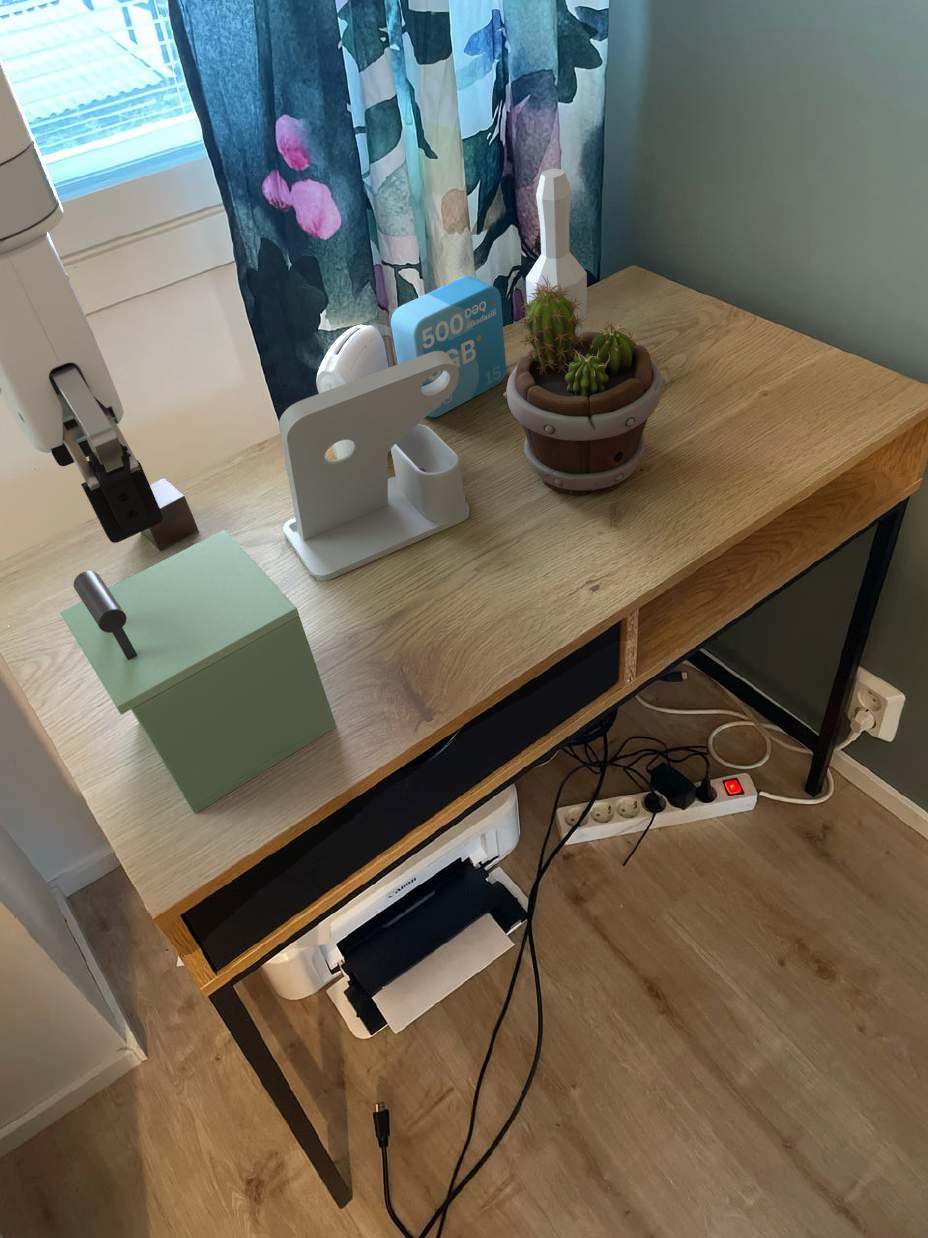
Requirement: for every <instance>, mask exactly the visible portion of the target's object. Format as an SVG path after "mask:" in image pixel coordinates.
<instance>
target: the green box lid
mask: <svg viewBox="0 0 928 1238" xmlns="http://www.w3.org/2000/svg"><path fill="white" fill-rule="evenodd" d="M73 589H74V590H75V592H76V593H77V595H78V597H79V598H80V600H81V601H79V602H77V603H76V604H75V603H74V604H73V605H71V606H69V607H67V608H65V609H64V610H61V611H60V612H59V614H60V615H61V617H62V619H63V621H64V623H65V624H66V626H67V628H68V629H69V630H70V632H71V634H72V635H73V637H74V639H75V641H76V643H77V644H78V646H79V647H80V649H81V651H82V653H83V654H84V656H85V657H86V659H87V661H88V662H89V664H90V665H91V667H92V669H93V671H94V672H95V674H96V676H97V677H98V680H99V681H100V682H101V684H102V686H103V688H104V689H105V691H106V693H107V695H108V696H109V698H110V699H111V701H112V703H113V705H114V706H115V707H116V710H117V711H118V712H119V714H120V715H123V714H125V713H127V712H128V711H129V712H130V711H132V710H131V709H132V708H134V707H136V706H138V705H139V704H141V703H143V702H145V701H147V700H148V699H150V698H152V697H154V696H156V695H157V694H159V693H161V692H163V691H165V690H166V689H168V688H170V687H172V686H174V685H175V684H177V683H179V682H181V681H183V680H184V679H186V678H188V677H190V676H192V675H193V674H195V673H197V672H199V671H201V670H202V669H204V668H206V667H208V666H209V665H211V664H213V663H215V662H217V661H218V660H220V659H222V658H224V657H226V656H227V655H229V654H231V653H233V652H235V651H236V650H238V649H240V648H242V647H244V646H245V645H247V644H249V643H251V642H253V641H254V640H256V639H258V638H260V637H262V636H263V635H265V634H267V633H269V632H271V631H272V630H274V629H276V628H278V627H280V626H281V625H283V624H285V623H287V622H288V621H290V620H292V619H294V618H296V617H297V616H300V614H299V610H298V608H297V606H295V604H294V603H293V602H292V601H291V600H290V599H289V598H288V597H287V596H286V593H284V592H283V591H282V590H281V589H280V587H278V585H276V583H275V582H274V581H273V580H272V579H271V578H270V576H269V575H267V574H266V572H265V571H264V570H263V569H262V568H261V567H260V566H259V565H258V564H257V563H256V561H255V560H254V559H253V558H252V557H251V555H249V553H248V552H246V550H245V549H244V548H243V547H242V546H241V545H240V543H239V542H238V541H237V540H236V539H235V538H234V537H233V536H232V535H231V533H230V532H229V531H228V530H227V529H223V530H221V531H218V532H217V533H215V534H214V535H211V536H209V537H207V538H205V539H203V540H201V541H199V542H197V543H195V544H193V545H191V546H189V547H187V548H185V549H183V550H181V551H179V552H178V553H175V554H173V555H171V556H169V557H168V558H165V559H163V560H162V561H160V562H157V563H155V564H153V565H151V566H149V567H148V568H146V569H144V570H141V571H139V572H137V573H135V574H134V575H131V576H130V577H129V576H128V577H127V578H126V579H123V580H121V581H119V582H117V583H116V584H114V585H112V586H109V587H108V586H107V584H106V583H105V581H104V580H103V579H102V577H101V576H100V574H99V573H97V572H96V571H92V570H86V571H82V572H81V573H79V574H78V575H77V576H76V577H75V578H74V580H73Z"/></svg>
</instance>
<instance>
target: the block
mask: <svg viewBox="0 0 928 1238" xmlns="http://www.w3.org/2000/svg"><path fill="white" fill-rule="evenodd" d="M149 485H150V487H151V489H152V492H153V494H154V496H155V499H156V501H157V503H158V506H159V508H160V510H161V512H162V515H163V520H162V521H161V522H160V523H159V524H157V525H155V526H152V527H150V528H148V529H146V530H144V531H142V532H140V533H141V534H142V536H144V537H145V538H146V539H147V541H149V542H150V543H151V544H152V545H153V547H155V548H156V549H157V550H158V551H159V552H162V551H164V550H166V549H168V548H170V547H171V546H174V545H175V544H176V543H179V542H180V541H182V540H183V539H186V538H188V537H189V536H191V535H193V534H195V533H197V532H198V531H199V528H198V525H197V523H196V520H195V518H194V515H193V513H192V510H191V508H190V506H189V502H188V501H187V499H186V496H185V495H184V494H183V493H182V492H181V491H180V490H178V489H177V488H176V487H175V486H174V485H173V484H172V483H171V482H170V481H169V480H167V479H166V478H165V477H163V478H161V479H158V480H157V481H155V482H153V483H151V484H149Z"/></svg>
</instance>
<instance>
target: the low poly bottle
mask: <svg viewBox="0 0 928 1238" xmlns="http://www.w3.org/2000/svg"><path fill="white" fill-rule="evenodd" d="M536 189H537V190H536V193H535V198H536V205H537V214H538V221H539V230H540V231H539V234H540V255H539V257H538V258H537V260H536V261H535V263H534V265H533V266H532V268H531V269H530V270H529V272H528V273H527V275H526V277H525V288H526V290H525V291H526V298H527V299H526V303H528V304H529V300H530V303H531V302H532V301H531V300H534V298H535V296H536V297H537V294H536V295H535V294H534V295H535V296H534V295H533V294H531V293H538V291H536V290H538V289H537V288H538V287H539V290H543V289H542V288H541V286H539V285H542V286H543V285H545V286H546V287H547V284H546V282H545V280H544V278H545V279H546V281H547V276H548V281H549V283H548V289H549V284H550V287H551V286H552V287H554V286H555V285H558V284H560V286H559V290H561V289H562V293H563V291H564V290H565V289H566V290H565V291H566V292H567V293H565V294H568V295H565V296H563V297H565V298H566V299H567V300H568V299H569V300H570V302H571V299H572V302H573V301H574V300H576V301H579V302H576V303H575V305H577V304H578V303H579V304H580V305H578V306H577V308H576V309H575V310H574V315H575V317H576V316H577V314H578V319H579V318H580V319H581V318H582V317H583V316H584V317H583V318H582V319H581V323H580V324H582V326H580V324H579V323H578V324H577V325H576V329H575V334H577V332H578V334H577V335H578V337H579V335H580V334H581V333H584V332H585V326H586V320H587V319H586V318H587V310H588V280H587V279H588V276H587V275H588V274H587V271H586V270H585V269H584V267H583V266H582V264H580V262H579V261H578V260H577V258H576V257H575V256H574V255H573V254H572V252H571V251H570V247H571V246H570V215H571V203H572V202H571V201H572V190H571V189H572V188H571V186H570V183H569V181H568V177H567V174H566V172H565V171H564V170H562V169H561V168H550V169H547V170H544V171H543V172H542V173H541V174H540V176H539V181H538V184H537V188H536ZM542 275H543V276H544V278H543V276H542ZM537 282H538V284H539V285H537V284H535V283H537ZM542 283H543V284H542ZM545 286H544V287H545ZM552 287H551V288H552ZM560 287H561V288H560ZM551 288H550V289H551ZM557 288H558V286H557V287H556V288H555V289H556V291H557V290H558V289H557ZM567 288H568V289H567ZM534 289H536V290H534ZM555 289H553V290H554V292H556V291H555ZM546 290H547V288H546ZM553 290H552V291H553ZM568 291H569V292H568ZM541 292H542V291H541ZM543 292H544V291H543ZM559 293H560V292H559ZM529 296H531V297H529ZM566 296H567V297H566ZM532 297H534V298H532ZM574 298H576V299H574ZM574 302H575V301H574ZM574 302H573V304H574ZM581 303H583V304H581ZM579 306H580V307H579ZM578 308H579V309H578ZM580 309H581V310H582V311H581V310H580ZM575 311H576V312H575ZM581 313H582V315H581ZM580 316H581V317H580ZM576 319H577V317H576ZM585 319H586V320H585ZM582 320H584V321H583V322H582ZM579 321H580V320H579ZM578 325H579V326H578ZM577 327H578V329H577ZM581 327H582V329H581ZM581 330H582V331H581ZM577 335H576V336H577Z"/></svg>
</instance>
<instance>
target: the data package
mask: <svg viewBox="0 0 928 1238" xmlns="http://www.w3.org/2000/svg"><path fill="white" fill-rule="evenodd" d="M390 327H391V334H392V339H393V345H394V351H395V357H396V363H397V365H398V364H400V363H403V362H406V361H408V360H411V359H414V358H417V357H419V356H422V355H425V354H427V353H430V352H434V351H443V352H445V353H447V354H448V356H449V357H450V358H451V360H452V361H453V363H454V364H455V366H456V367H457V369H458V371H459V376H458V384H457V387H456V389H455V390H454V391H453V393H452V394H451V395H450V396H449V397H448V398H446V399H445V400H444V401H443V402H442V403H441V404H440V405H439V406H437V407H436V408H435V409H434V410H433V411H432V412H431V413H430V414H429V415H427V417H430V418H438V417H440V416H442V415H444V414H446V413H447V412H449V411H451V410H453V409H455V408H457V407H459V406H461V405H463V404H464V403H466V402H468V401H470V400H471V399H473V398H475V397H477V396H479V395H481V394H483V393H485V392H487V391H488V390H491V389H492V388H495V387H496V386H498V385H499V384H500V383H502V381H503V380H504V378H505V376H506V373H507V360H506V359H507V358H506V347H505V335H504V334H505V333H504V321H503V308H502V296H501V293H500V291H499V289H498V288H497V287H495V286H494V285H491V284H489V283H487V282H485V281H482V280H481V279H478V278H476V277H475V276H471V275H464V276H462V277H459V278H458V279H455V280H453V281H451V282H449V283H447V284H445V285H442V286H441V287H438V288H435V289H434V290H432V291H430V292H427V293H425V294H423V295H421V296H419V297H417V298H415V299H412V300H411V301H408V302H406V303H404V304H402V305H400V306H399V307H397V308H396V309H395V310H394V311H393V313H392V315H391V319H390ZM442 372H443V371H438V372H435V373H433V374H432V375H430V376H429V377H428V378H427V379H426V380H425V381H424V383H423V385H422V386H426V385H428V384H430V383H432V382H434V381H435V380H436V379H437V378H438V377H439V376H440V375H441V374H442Z"/></svg>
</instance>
